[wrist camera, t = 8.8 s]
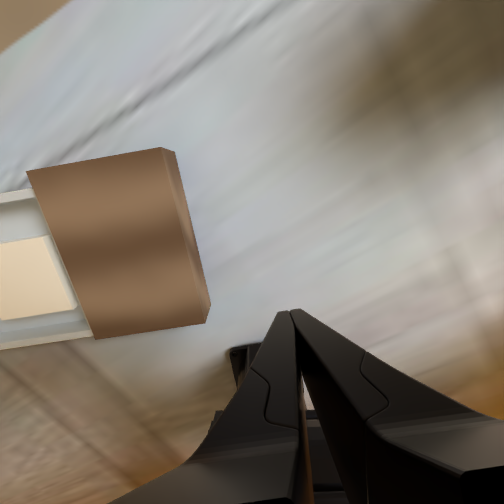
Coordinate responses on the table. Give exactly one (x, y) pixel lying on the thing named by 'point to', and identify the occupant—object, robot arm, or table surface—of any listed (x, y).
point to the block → (33, 278)
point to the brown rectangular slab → (126, 241)
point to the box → (34, 223)
